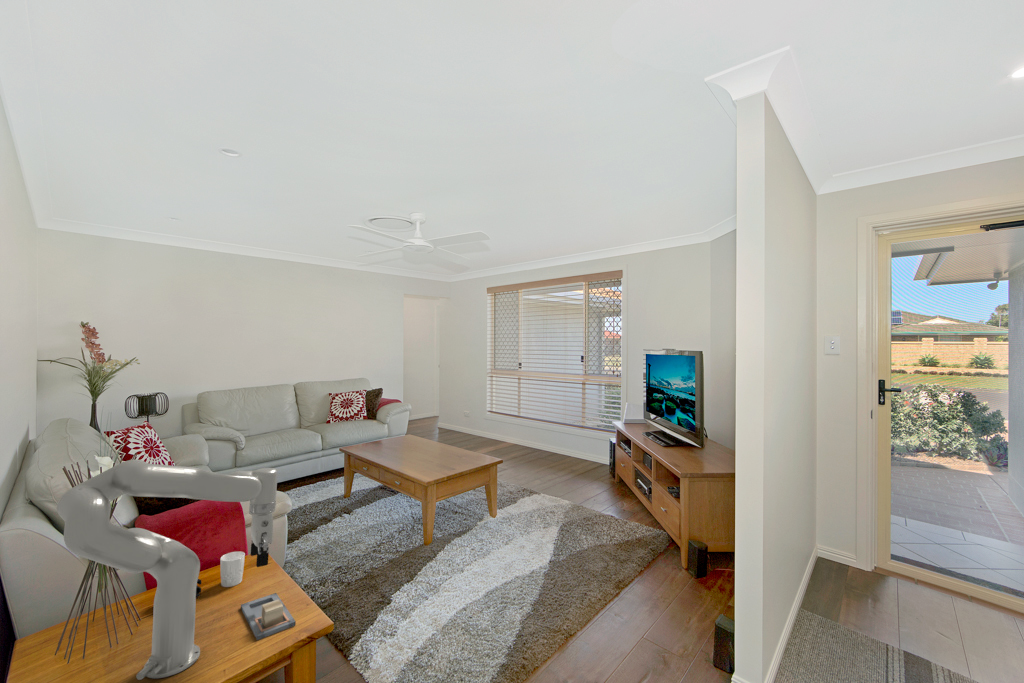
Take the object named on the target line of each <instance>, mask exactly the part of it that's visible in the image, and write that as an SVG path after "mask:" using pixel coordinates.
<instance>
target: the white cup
mask: <svg viewBox="0 0 1024 683" xmlns="http://www.w3.org/2000/svg"><path fill="white" fill-rule="evenodd" d="M245 557H246V553H245V552H244V551H231V552H227V553H226V554H223V555H221V557H220V558H219V559H220V560H219V561H220V566H219V567H220V586H221V587H222V588H229V587H230V588H231V587H234V586H237V585H239V584H240V583H241V582H243V575H244V570H245V569H244V567H245Z"/></svg>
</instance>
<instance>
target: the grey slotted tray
mask: <svg viewBox="0 0 1024 683" xmlns="http://www.w3.org/2000/svg"><path fill="white" fill-rule="evenodd" d="M278 599H279V600H280V602H281V603H282V605H283V622H282V623H279V624H276V625H274V626H271V627H268V628H266V629H264V628H263V626H262V624H261V616H262V605H263V604H266V603H269V602H272V601H275V600H278ZM240 609H241V612H242V613H243V615H244V617H245V620H246V622H247V623H248V625H249V628H250V629H251V631H252V633H253V636H254V637H255V639H256V641H258V640H261V639H263V638H267V637H269V636H272V635H274V634H277V633H279V632H282V631H284V630H288V629H290V628H292V627H295V626H296V624H297V623H296V620H295V618H294V617H293V615H292V614H291V612H290V611H289V609H288V608H287V606H286V605H285V603H284V602H283V601H282V599H281V598H280V596H279V595H278V594H277V592H275V593H272V594H269V595H266V596H263V597H259V598H257V599H253V600H251V601H248V602H245V603H241V604H240Z"/></svg>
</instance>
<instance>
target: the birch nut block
mask: <svg viewBox="0 0 1024 683" xmlns="http://www.w3.org/2000/svg"><path fill="white" fill-rule="evenodd" d="M282 622H283V605H282V603H281V602H280V600H279V599H278V600H275V601H272V602H269V603H266V604H263V605H262V616H261V624H262V626H263V628H264V629H266V628H268V627H271V626H274V625H276V624H279V623H282Z"/></svg>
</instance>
